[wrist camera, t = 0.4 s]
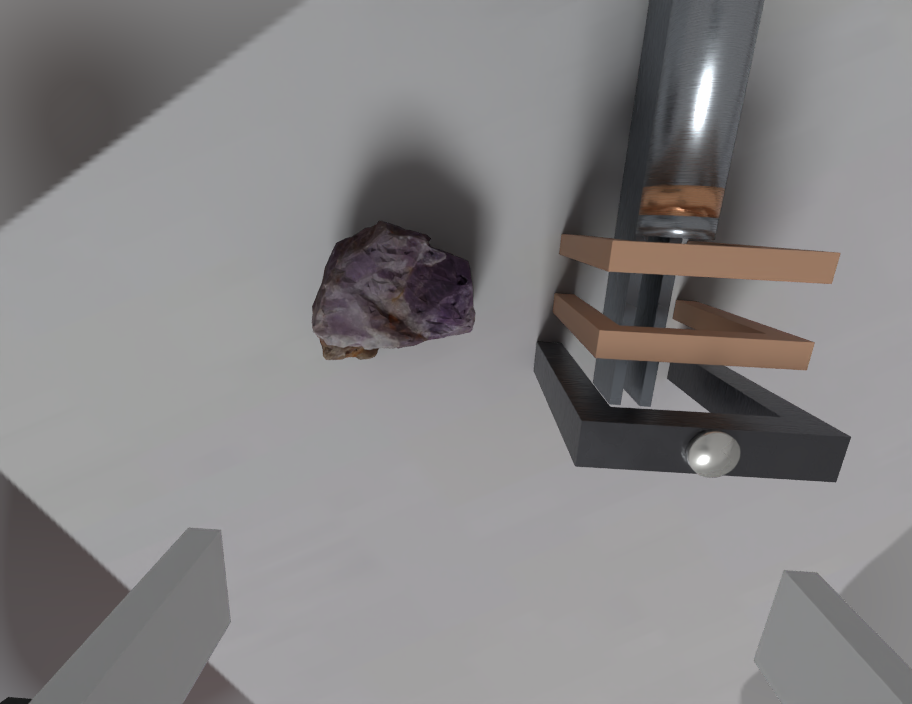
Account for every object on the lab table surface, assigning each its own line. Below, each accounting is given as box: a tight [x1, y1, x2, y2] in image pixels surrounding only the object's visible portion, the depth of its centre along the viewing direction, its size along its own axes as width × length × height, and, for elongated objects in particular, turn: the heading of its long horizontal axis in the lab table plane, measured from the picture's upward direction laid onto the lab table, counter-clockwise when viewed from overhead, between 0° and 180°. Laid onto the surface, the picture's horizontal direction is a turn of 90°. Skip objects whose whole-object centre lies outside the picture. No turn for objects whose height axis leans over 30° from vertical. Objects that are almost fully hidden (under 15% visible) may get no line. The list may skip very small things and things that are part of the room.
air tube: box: [635, 0, 764, 240], centre depth 24 cm, size 24×4×4 cm, turn 177°
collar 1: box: [559, 234, 840, 284], centre depth 28 cm, size 2×11×12 cm, turn 87°
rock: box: [312, 221, 475, 360], centre depth 31 cm, size 12×9×10 cm
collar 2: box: [553, 293, 815, 370], centre depth 29 cm, size 2×11×12 cm, turn 87°
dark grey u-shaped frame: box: [534, 342, 851, 482], centre depth 29 cm, size 2×13×15 cm, turn 87°
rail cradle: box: [593, 0, 682, 407], centre depth 30 cm, size 32×3×4 cm, turn 177°
